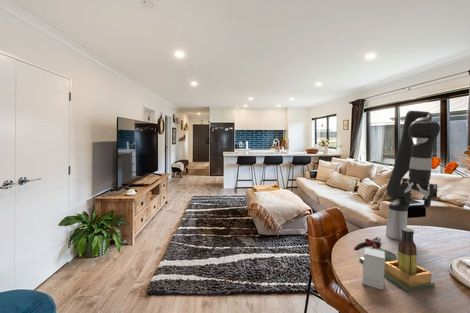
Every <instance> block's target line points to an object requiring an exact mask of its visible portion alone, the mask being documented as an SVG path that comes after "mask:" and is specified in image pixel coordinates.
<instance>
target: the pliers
mask: <svg viewBox="0 0 470 313" xmlns="http://www.w3.org/2000/svg"><path fill="white" fill-rule="evenodd" d="M364 240H365V241H363V242H360V243H358V244H356V245H355V246H354V247H353V249H354V250H355V251H358V250H359V249H361V248H362V247H365V246H372V248H371V249H373V248H378V249H381V246H382V245H381V241H382V238H381V237H378V236H377V237H374V238H372V239H369V238H365V239H364Z"/></svg>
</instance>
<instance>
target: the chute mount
mask: <svg viewBox="0 0 470 313" xmlns="http://www.w3.org/2000/svg"><path fill="white" fill-rule="evenodd" d="M373 249H375V250H380V251H384V252H385V269H384V279H387V280H389V281H390V282H391V283H393V284H394V285H396V286H397V287H400V288H401V289H402V290H404V291H405V292H407V293H408V292H412V291H419V290H423V289H428V288H432V287H433V288H434V287H436V283H435V282H434V281H432V273H431V271H428V270H427V269H424V268H423V267H420V266H419V265H417V271H416V274H411V275H409V274H407V273H405V272H403V271H402V270H400V269H398V255H397V254H395V253H393V252H392V251H389V250H386V249H383V248H378V247H376V248H373ZM363 261H364V256H362V257H359V262H361V263H362V264H363Z"/></svg>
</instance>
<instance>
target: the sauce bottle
mask: <svg viewBox="0 0 470 313" xmlns="http://www.w3.org/2000/svg"><path fill="white" fill-rule="evenodd" d="M414 234H415V231H414V230H413V229H412V228H402V240H400V242H399V243H398V247H397V248H398V249H397V250H398V251H397V260H398V269H400V270H402V271H403V272H405V273H407V274H409V275H411V274H416V271H417V266H418V265H417V259H418V257H417V256H418V255H417V245H416V243H415V242H414Z"/></svg>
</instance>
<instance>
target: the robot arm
mask: <svg viewBox="0 0 470 313" xmlns="http://www.w3.org/2000/svg"><path fill="white" fill-rule="evenodd" d="M404 117H405V118H404V122H403V127H402V133H401V138H400V142H399V145H398V149H397V152H396V156H395V159H394V160H395V161H394V163H393V169H392V172H391V175H390V177H389V180H388V182H387V185H386V195H387V197H389V198H390V199H395V200H394V201H392V202H389V204H388V216H387V218H388V219H387V220H386V228H385V229H386V230H385V236H387V237H388V238H390V239H392V240H396V241H401V240H402V228H407V225H408V213H409V212H408V211H409V208H410V204H411V200H412V193H413V191H416V192H420V193H421V194H422V195H423V197H424V199H423V207H424V208H429V207H431V203H432V199H437V197H438V184H436V183H430V180H431V176H432V165H433V164H432V163H433V162H432V159H433V157H432V156H433V150H434V145H435V143H436V140H437V138H438V136H439V134H440V132H441V125H440V124H439V122H437V121H432V119H433V115H432V113H431V112H429V111H421V110H409V111H407V113H406V115H405V116H404ZM412 138H413V139H426V141H425V142H421V143H419V142H418V143H414V141H413V139H412ZM406 174H408V177H405V175H406ZM404 177H405V178H404Z"/></svg>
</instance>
